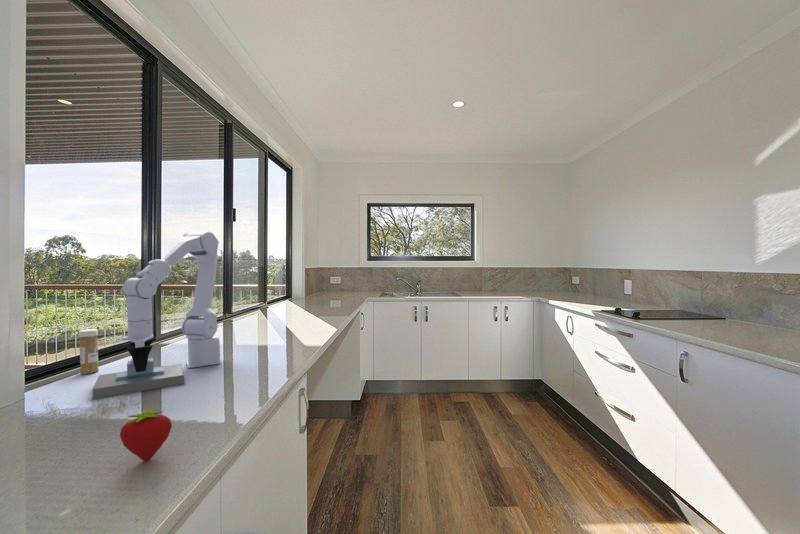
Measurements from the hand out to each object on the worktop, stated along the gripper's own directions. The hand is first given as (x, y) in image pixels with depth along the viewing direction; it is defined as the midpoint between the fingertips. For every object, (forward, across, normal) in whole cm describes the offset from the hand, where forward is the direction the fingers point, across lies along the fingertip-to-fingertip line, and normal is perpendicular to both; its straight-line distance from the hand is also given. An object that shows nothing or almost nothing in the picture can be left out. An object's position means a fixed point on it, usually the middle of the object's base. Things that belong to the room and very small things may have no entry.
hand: (141, 368), depth 105 cm
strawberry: (+5, +50, +2) cm, 50 cm away
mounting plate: (+4, 0, 0) cm, 4 cm away
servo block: (+4, 0, 0) cm, 5 cm away
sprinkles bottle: (+5, -23, -14) cm, 27 cm away
